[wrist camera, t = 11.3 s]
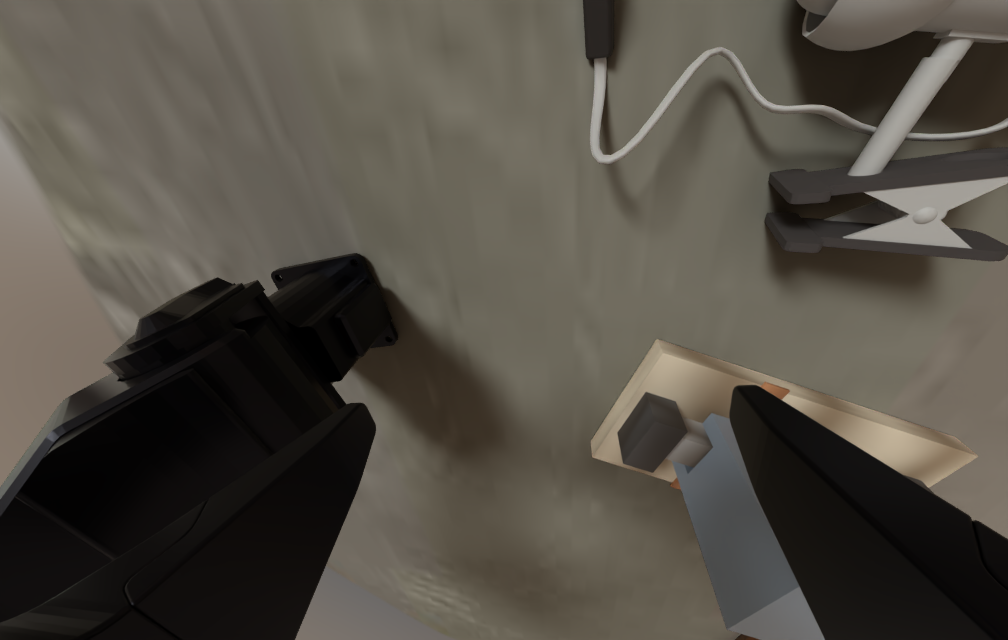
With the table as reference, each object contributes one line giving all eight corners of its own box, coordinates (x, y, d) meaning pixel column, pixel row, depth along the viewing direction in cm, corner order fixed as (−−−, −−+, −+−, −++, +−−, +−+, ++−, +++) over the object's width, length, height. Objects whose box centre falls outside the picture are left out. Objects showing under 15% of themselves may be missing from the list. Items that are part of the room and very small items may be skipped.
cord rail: (589, 443, 27) (593, 491, 24) (659, 334, 22) (678, 376, 19) (833, 520, 28) (871, 576, 25) (959, 433, 23) (1030, 491, 19)
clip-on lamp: (558, 174, 21) (928, 251, 17) (524, 204, 16) (1035, 324, 12) (619, -143, 14) (1279, -142, 10) (592, -262, 9) (1896, -359, 5)
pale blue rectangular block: (671, 459, 24) (726, 629, 16) (711, 412, 22) (799, 586, 14) (738, 480, 25) (826, 659, 17) (786, 437, 22) (915, 621, 14)
